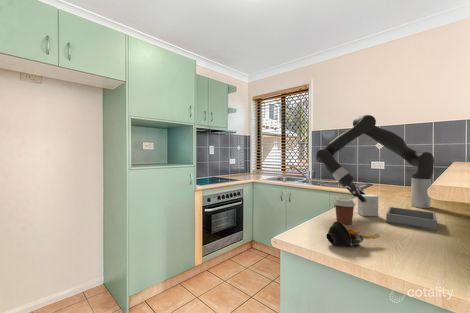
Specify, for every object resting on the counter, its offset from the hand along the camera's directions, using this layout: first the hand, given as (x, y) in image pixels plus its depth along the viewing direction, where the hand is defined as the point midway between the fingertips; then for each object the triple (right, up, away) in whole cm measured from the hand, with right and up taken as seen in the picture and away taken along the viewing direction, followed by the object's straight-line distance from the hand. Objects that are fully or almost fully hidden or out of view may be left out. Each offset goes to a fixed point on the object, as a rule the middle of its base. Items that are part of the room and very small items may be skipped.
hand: (365, 200), depth 120 cm
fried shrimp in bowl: (-27, -10, -37) cm, 46 cm away
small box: (+1, -8, 0) cm, 8 cm away
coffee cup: (-19, -9, -15) cm, 26 cm away
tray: (+14, -8, -12) cm, 21 cm away
